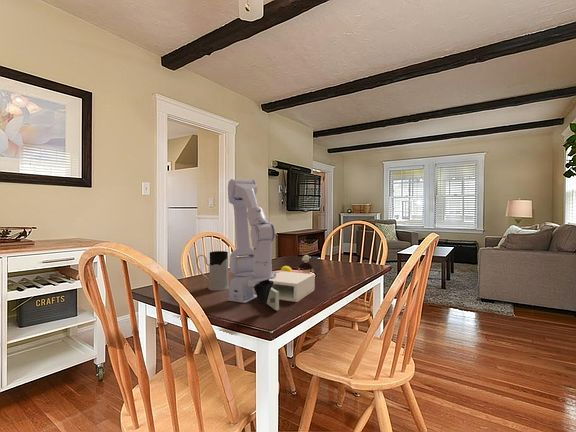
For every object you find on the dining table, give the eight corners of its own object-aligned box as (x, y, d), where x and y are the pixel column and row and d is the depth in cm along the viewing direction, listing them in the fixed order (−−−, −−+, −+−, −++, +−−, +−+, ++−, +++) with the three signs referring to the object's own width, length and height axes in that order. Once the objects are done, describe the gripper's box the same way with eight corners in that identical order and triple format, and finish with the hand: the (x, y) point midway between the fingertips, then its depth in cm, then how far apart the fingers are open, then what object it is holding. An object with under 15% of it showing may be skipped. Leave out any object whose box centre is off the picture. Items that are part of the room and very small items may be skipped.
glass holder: (225, 290, 129) (225, 254, 129) (192, 289, 131) (191, 253, 131) (232, 285, 138) (232, 251, 137) (201, 284, 140) (201, 250, 139)
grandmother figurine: (315, 283, 142) (315, 254, 142) (313, 285, 138) (313, 255, 138) (298, 282, 144) (298, 254, 144) (296, 283, 140) (296, 255, 140)
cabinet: (296, 301, 114) (296, 283, 113) (260, 296, 120) (260, 279, 120) (314, 290, 130) (314, 274, 130) (281, 286, 136) (281, 271, 136)
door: (272, 310, 102) (272, 292, 102) (254, 297, 118) (254, 281, 118) (279, 309, 103) (278, 291, 103) (261, 296, 119) (260, 280, 119)
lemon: (294, 277, 155) (295, 267, 154) (286, 279, 151) (287, 268, 150) (284, 273, 160) (285, 263, 159) (276, 275, 156) (277, 264, 155)
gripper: (262, 266, 93) (262, 312, 93) (284, 259, 106) (284, 299, 106) (241, 264, 96) (242, 309, 96) (265, 257, 109) (265, 297, 109)
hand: (262, 304), depth 102 cm, fingers closed
